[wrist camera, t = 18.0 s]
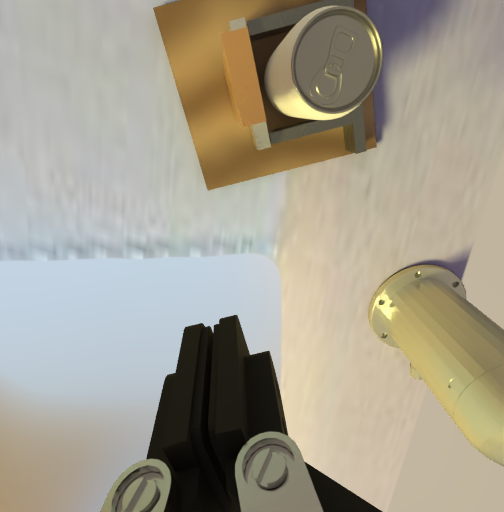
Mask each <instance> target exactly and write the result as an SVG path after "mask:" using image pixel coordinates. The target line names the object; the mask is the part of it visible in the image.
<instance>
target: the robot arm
mask: <svg viewBox="0 0 504 512" xmlns="http://www.w3.org/2000/svg"><path fill="white" fill-rule="evenodd" d="M369 321H370V325H371V327H372V329H373V331H374V332H375V334H376V335H377V337H378V338H379V339H380V340H381V341H383V342H384V343H386V344H388V345H389V346H392V347H396V348H400V349H401V350H402V351H403V353H404V354H405V355H406V357H407V358H408V360H409V361H410V362H411V363H410V375H411V376H412V377H413V378H414V379H418V380H422V379H423V380H424V382H425V383H426V384H427V386H428V387H429V388H430V390H431V391H432V393H433V394H434V395H435V397H436V398H437V399H438V400H439V402H440V403H441V405H442V406H443V407H444V409H445V410H446V412H447V413H448V414H449V416H450V417H451V419H452V420H453V421H454V423H455V424H456V425H457V427H458V428H459V429H460V431H461V432H462V433H463V435H464V436H465V437H466V439H467V440H468V441H469V442H470V443H471V445H472V446H474V447H475V448H476V449H477V450H478V451H479V452H480V453H482V454H483V455H484V456H486V457H487V458H489V459H490V460H492V461H494V462H496V463H498V464H500V465H502V466H504V330H503V329H502V328H501V327H500V326H498V325H497V324H496V323H494V322H493V321H492V320H491V319H490V318H488V317H487V316H486V315H484V314H483V313H482V312H481V311H479V310H478V309H477V308H476V307H474V306H473V305H472V304H471V303H469V302H468V301H467V300H466V291H465V288H464V285H463V283H462V282H461V280H460V279H459V278H458V277H457V276H456V275H455V274H453V273H452V272H450V271H449V270H447V269H446V268H443V267H440V266H436V265H418V266H413V267H410V268H407V269H404V270H402V271H400V272H398V273H397V274H395V275H393V276H392V277H391V278H389V279H388V280H387V281H386V282H385V283H384V284H383V285H382V286H381V287H380V288H379V289H378V291H377V292H376V294H375V295H374V297H373V299H372V302H371V304H370V309H369ZM100 512H382V511H380V510H379V509H377V508H376V507H374V506H373V505H371V504H370V503H368V502H366V501H365V500H363V499H362V498H360V497H359V496H357V495H356V494H354V493H352V492H351V491H349V490H348V489H346V488H345V487H343V486H342V485H340V484H338V483H337V482H335V481H334V480H332V479H331V478H329V477H328V476H326V475H324V474H323V473H321V472H320V471H318V470H317V469H315V468H314V467H312V466H310V465H309V464H307V463H306V462H304V460H303V457H302V454H301V452H300V450H299V448H298V446H297V445H296V443H295V442H294V441H293V440H292V439H291V438H290V437H289V436H288V432H287V427H286V421H285V416H284V411H283V405H282V400H281V395H280V390H279V385H278V381H277V377H276V373H275V369H274V366H273V362H272V358H271V355H270V352H269V351H266V352H262V353H257V354H253V355H250V354H249V350H248V347H247V344H246V341H245V338H244V335H243V331H242V328H241V325H240V322H239V319H238V316H237V315H233V316H230V317H225V318H221V319H220V320H219V324H216V325H214V333H213V332H212V329H211V327H210V326H208V327H205V326H204V324H202V323H200V324H197V325H192V326H188V327H185V329H184V333H183V338H182V343H181V348H180V353H179V358H178V364H177V369H176V373H173V374H169V375H167V376H166V378H165V381H164V385H163V389H162V394H161V398H160V402H159V407H158V411H157V415H156V420H155V424H154V429H153V433H152V437H151V441H150V446H149V450H148V454H147V459H146V460H143V461H140V462H138V463H136V464H134V465H132V466H131V467H130V468H128V469H127V470H126V471H125V472H123V473H122V474H121V476H120V477H119V478H118V479H117V480H116V482H115V483H114V484H113V486H112V488H111V490H110V491H109V493H108V495H107V498H106V500H105V502H104V505H103V507H102V509H101V511H100Z"/></svg>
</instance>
